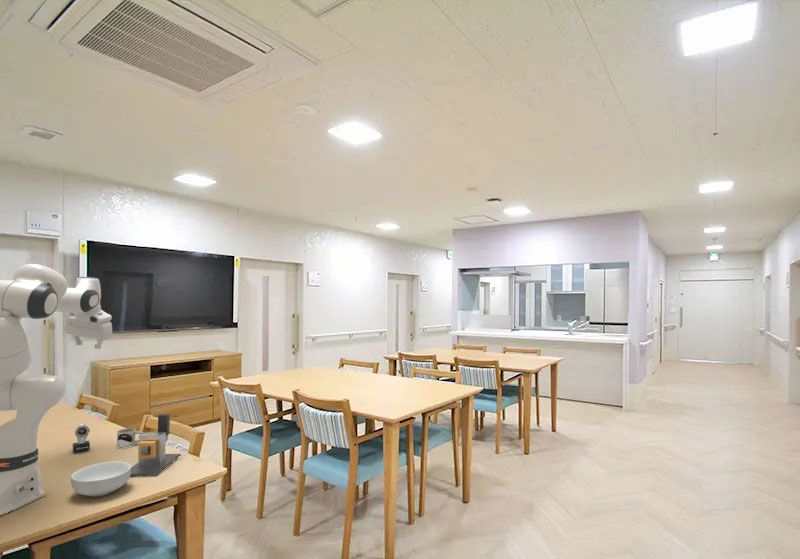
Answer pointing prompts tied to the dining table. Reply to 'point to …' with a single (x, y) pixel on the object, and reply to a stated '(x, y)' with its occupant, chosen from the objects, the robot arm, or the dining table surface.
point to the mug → (127, 437)
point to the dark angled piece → (159, 430)
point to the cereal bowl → (100, 478)
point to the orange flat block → (152, 451)
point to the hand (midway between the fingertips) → (88, 346)
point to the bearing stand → (153, 464)
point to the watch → (81, 439)
